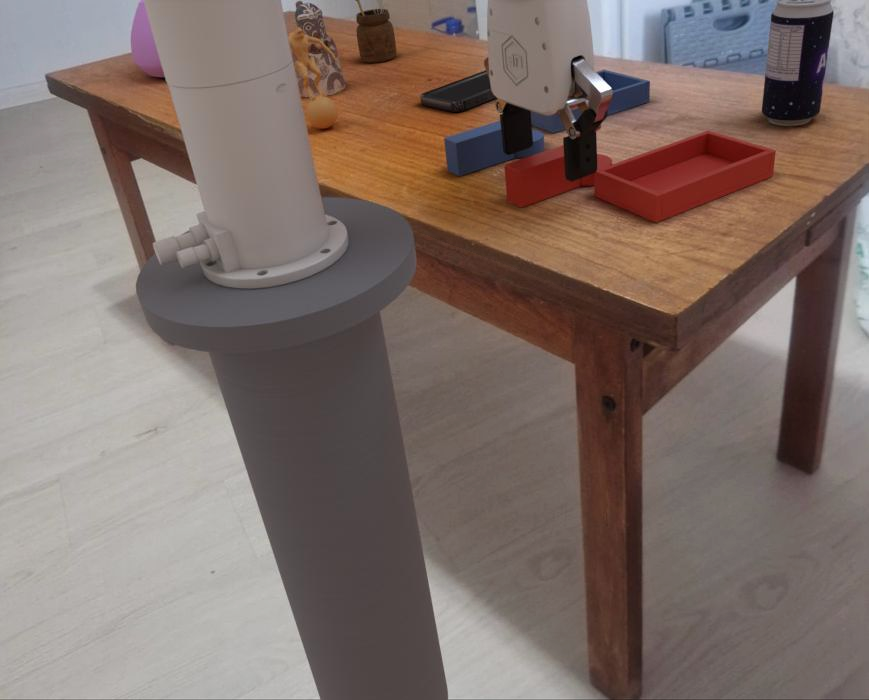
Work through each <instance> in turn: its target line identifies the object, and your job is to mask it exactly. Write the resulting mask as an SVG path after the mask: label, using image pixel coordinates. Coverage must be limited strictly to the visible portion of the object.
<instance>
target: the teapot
mask: <svg viewBox="0 0 869 700" xmlns="http://www.w3.org/2000/svg"><path fill="white" fill-rule="evenodd" d="M130 50H131V56H132V60H133V62H134V64H135V65H136V67H138V68H139V69H140V70H142V72H144V73H146V74H147V75H148V76H150V77H155V78H165V75H164V72H163V69H162V65H161V62H160V58H159V55H158V51H157V48H156V44H155V41H154V37H153V33H152V30H151V26H150V22H149V19H148V15H147V11H146V8H145V4H144V0H140V1H139V2H138V4H137V6H136V9H135V13H134V18H133V21H132V26H131V31H130Z"/></svg>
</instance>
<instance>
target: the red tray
mask: <svg viewBox="0 0 869 700" xmlns="http://www.w3.org/2000/svg"><path fill="white" fill-rule="evenodd" d="M776 152H777V150H776V149H773V148H769V147H765V146H762V145H760V144H755V143H753V142H748V141H747V140H746V141H745V140H742V139H738V138H735V137H733V136H732V137H731V136H728V135H725V134H721V133H719V132H715V131H712V130H705V131H702V132H699V133H697V134H694V135H690V136H688V137H685V138H683V139H680V140H677V141H674V142H672V143H668V144H666V145H664V146H663V145H662V146H660V147H657V148H655V149H651V150H650V151H646V152H644V153H641V154H638V155H635V156H632V157H629V158H626V159H624V160H620V161H618V162H616V163H612V165H609V166H607V167H604V168H601V169H598V170H597V171H596V172H595V173H594V185H593V191H594V194H593V195H594V197H596V198H598V199H599V200H603V201H605V202H607V203H609V204H612V205H614V206H617V207H618V208H621V209H623V210H625V211H628V212H630V213H633V214H634V215H637V216H639V217H642V218H644V219H646V220H649V221H650V222H653V223H659V222H662V221H664V220H666V219H669V218H672V217H675V216H677V215H679V214H682V213H684V212H687V211H689V210H691V209H694V208H697V207H700V206H701V205H704V204H706V203H709V202H712V201H714V200H717V199H719V198H722V197H724V196H727V195H729V194H731V193H734V192H737V191H739V190H742V189H744V188H747V187H749V186H751V185H754V184H757V183H759V182H762V181H765V180H767V179H770V178H772V177H773V176H774V170H775V161H776Z"/></svg>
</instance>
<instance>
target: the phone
mask: <svg viewBox="0 0 869 700" xmlns="http://www.w3.org/2000/svg"><path fill="white" fill-rule="evenodd" d="M419 97H420V104H421V106H424V107H430V108H433V109H438V110H443V111H446V112H451V113H459V112H464V111H467V110H469V109H471V108H474V107H476V106H479V105H482V104H484V103H487V102H488V101H489V102H490V101H492V100H493V99H496V98H495V96H494V94H493V93H492V91H491V89H490V80H489V77H488V74H487V71H486V69H485V70H483V71H480V72H477V73H474V74H472V75H469V76H466V77H463V78H461V79H459V80H456V81H453V82H450V83H447V84H444V85H442V86H439V87H437V88H433V89H430V90H428V91H425V92H422V93H421V94H420V95H419Z"/></svg>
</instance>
